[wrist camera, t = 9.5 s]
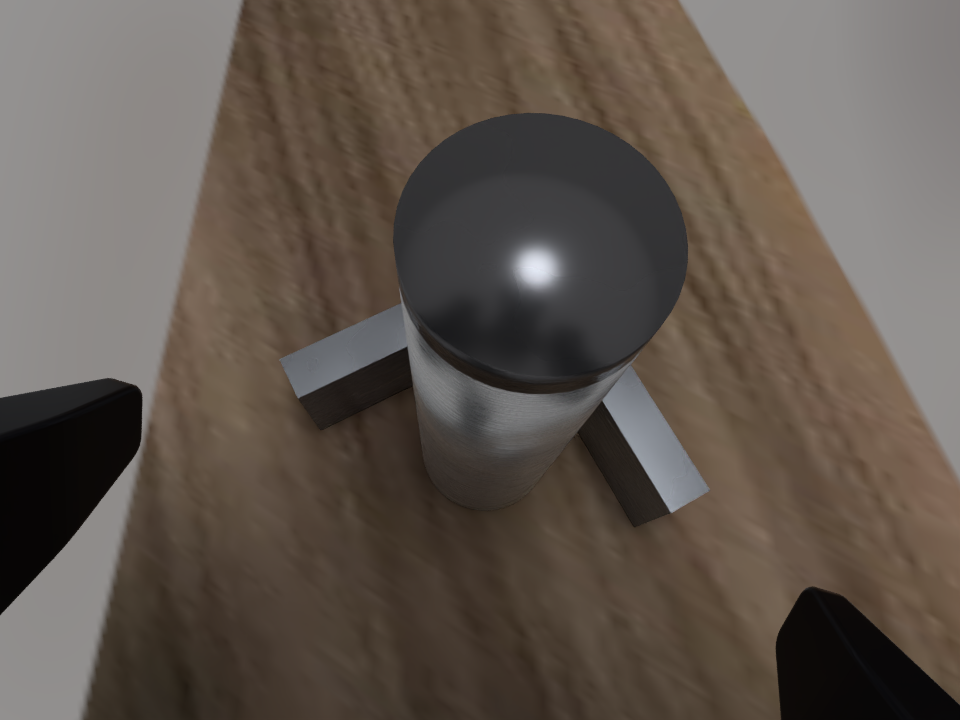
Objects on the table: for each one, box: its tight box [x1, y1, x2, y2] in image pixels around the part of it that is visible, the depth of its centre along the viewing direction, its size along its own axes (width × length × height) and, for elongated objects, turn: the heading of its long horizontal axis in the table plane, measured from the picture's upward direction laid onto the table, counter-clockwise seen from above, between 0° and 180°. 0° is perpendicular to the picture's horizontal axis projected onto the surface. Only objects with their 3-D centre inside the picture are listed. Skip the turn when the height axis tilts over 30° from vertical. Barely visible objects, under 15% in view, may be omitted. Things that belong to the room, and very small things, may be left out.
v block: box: [280, 303, 710, 527], centre depth 20 cm, size 7×12×4 cm, turn 73°
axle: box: [393, 113, 688, 511], centre depth 15 cm, size 4×4×13 cm
